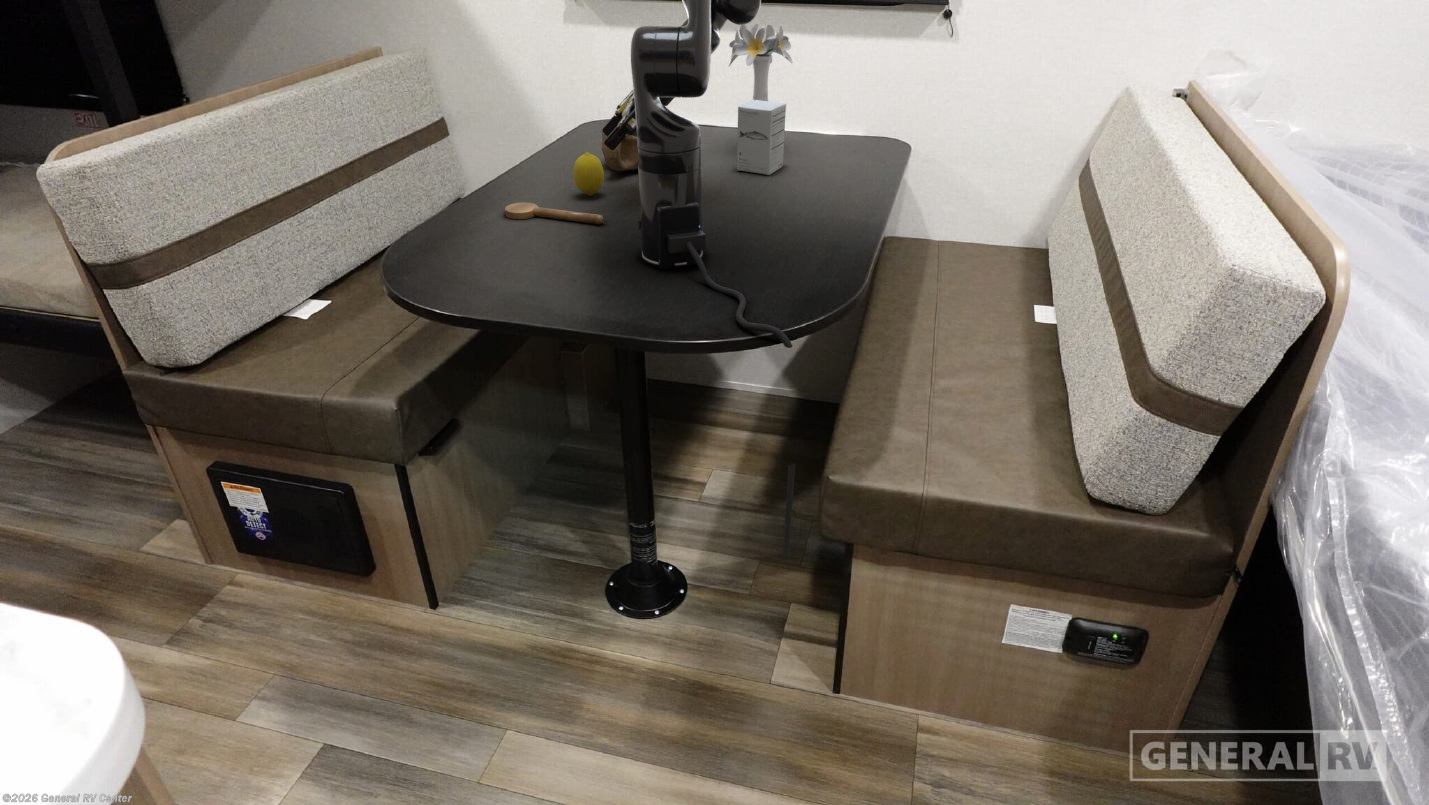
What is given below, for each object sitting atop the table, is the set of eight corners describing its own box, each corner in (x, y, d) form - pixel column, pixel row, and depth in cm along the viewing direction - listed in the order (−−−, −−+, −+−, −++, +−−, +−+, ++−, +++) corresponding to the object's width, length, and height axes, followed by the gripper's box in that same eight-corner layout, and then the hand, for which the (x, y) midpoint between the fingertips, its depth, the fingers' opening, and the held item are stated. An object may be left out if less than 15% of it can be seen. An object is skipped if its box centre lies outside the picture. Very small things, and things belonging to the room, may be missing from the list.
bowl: (666, 175, 168) (650, 123, 164) (599, 192, 172) (581, 142, 167) (681, 149, 183) (667, 101, 179) (619, 165, 187) (603, 119, 182)
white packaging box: (735, 171, 176) (736, 105, 169) (751, 161, 181) (752, 98, 175) (769, 176, 173) (771, 109, 166) (784, 166, 178) (787, 102, 172)
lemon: (578, 201, 160) (575, 157, 155) (572, 192, 164) (568, 149, 160) (608, 198, 161) (605, 154, 157) (601, 189, 166) (598, 147, 161)
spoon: (610, 219, 151) (610, 210, 151) (595, 230, 147) (595, 220, 146) (516, 207, 157) (515, 198, 156) (499, 217, 153) (498, 208, 152)
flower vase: (778, 135, 199) (782, 16, 186) (795, 158, 183) (800, 29, 171) (721, 137, 198) (721, 17, 185) (733, 160, 182) (734, 30, 169)
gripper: (648, 48, 158) (589, 116, 162) (656, 62, 146) (591, 136, 150) (679, 78, 161) (619, 144, 165) (688, 95, 149) (624, 165, 153)
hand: (606, 140), depth 158 cm, fingers open, 8 cm apart
